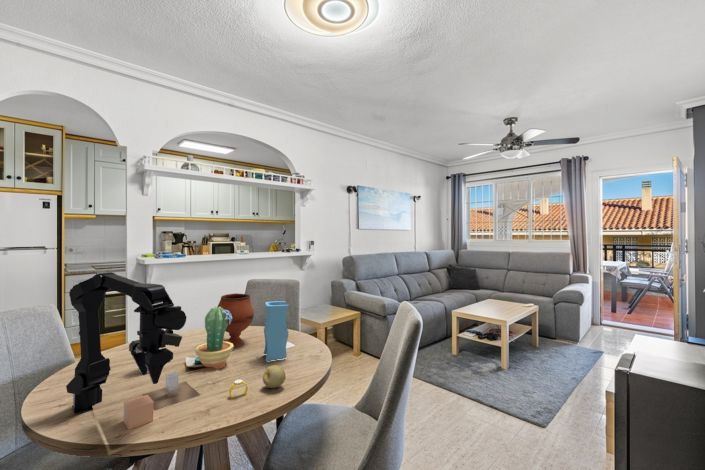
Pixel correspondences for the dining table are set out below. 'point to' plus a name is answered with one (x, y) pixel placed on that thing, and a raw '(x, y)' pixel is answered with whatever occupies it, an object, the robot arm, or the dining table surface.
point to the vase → (276, 330)
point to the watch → (237, 384)
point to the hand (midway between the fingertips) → (149, 379)
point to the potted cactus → (215, 339)
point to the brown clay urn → (237, 315)
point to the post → (171, 384)
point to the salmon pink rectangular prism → (138, 411)
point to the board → (163, 401)
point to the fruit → (274, 376)
